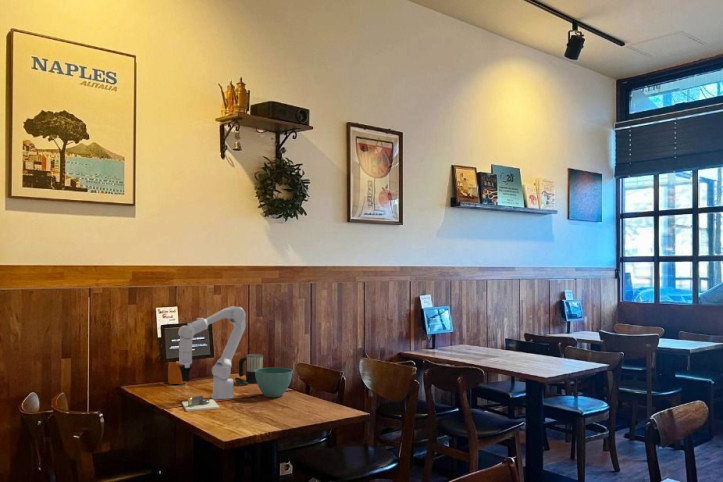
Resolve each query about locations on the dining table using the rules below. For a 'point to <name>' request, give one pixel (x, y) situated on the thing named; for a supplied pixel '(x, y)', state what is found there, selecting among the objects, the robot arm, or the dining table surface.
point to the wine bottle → (174, 373)
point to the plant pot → (273, 380)
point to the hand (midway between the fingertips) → (184, 381)
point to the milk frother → (249, 368)
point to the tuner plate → (201, 406)
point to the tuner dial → (197, 400)
